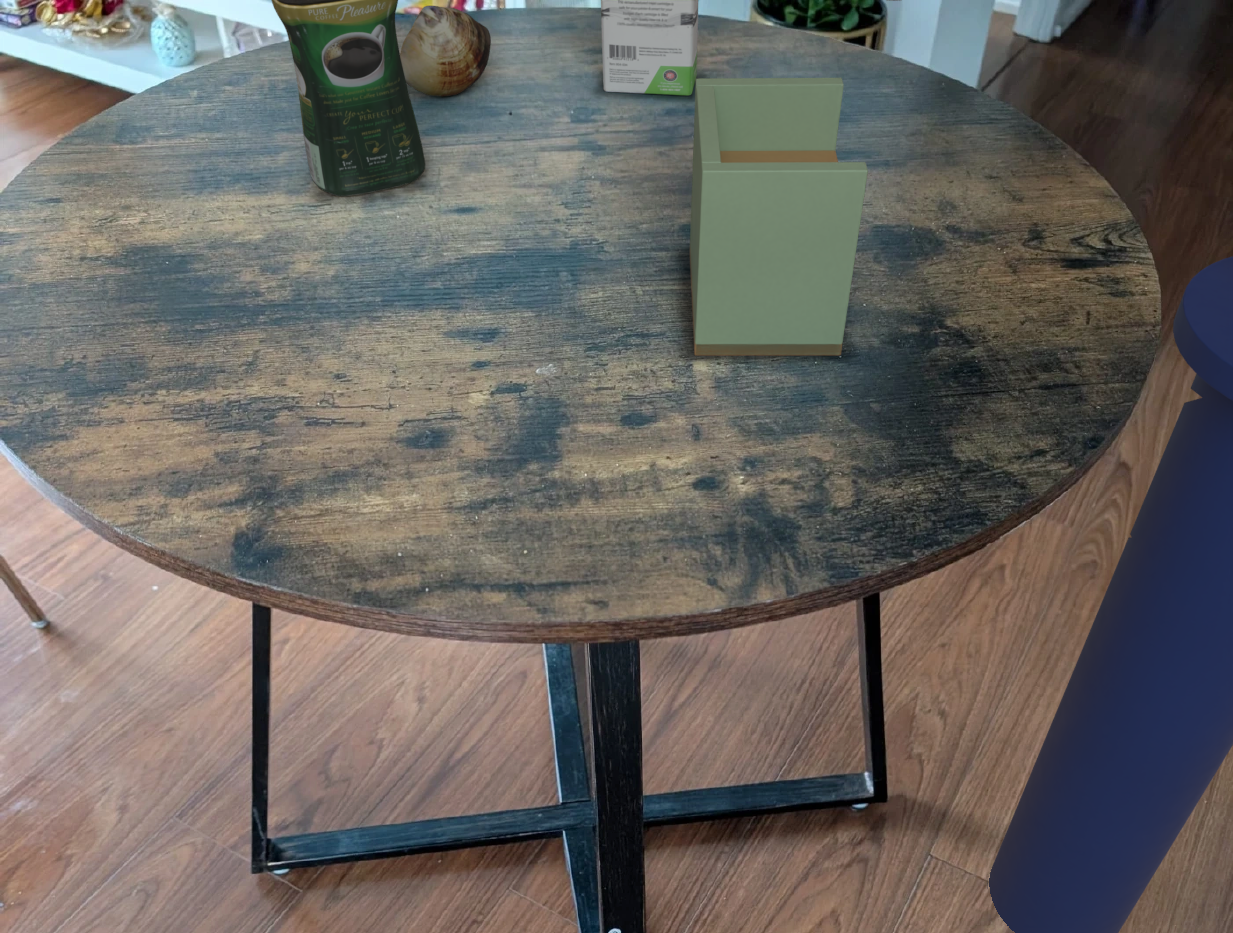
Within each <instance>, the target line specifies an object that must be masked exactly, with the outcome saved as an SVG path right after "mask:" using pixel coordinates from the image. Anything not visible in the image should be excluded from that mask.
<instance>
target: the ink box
mask: <svg viewBox="0 0 1233 933" xmlns="http://www.w3.org/2000/svg"><path fill="white" fill-rule="evenodd" d="M600 17H601V18H600V19H601V21H600V22H601V23H600V24H601V52H602V53H601V54H602V57H601V58H602V83H603V84H602V85H603V90H604V92H607V93H608V92H609V93H625V94H627V93H628V94H646V95H647V94H648V95H649V94H650V95H664V96H665V95H667V96H668V95H669V96H692V94H693V91H694V88H695V85H696V79H697V75H698V39H699V38H698V36H699V35H698V34H699V32H698V30H699V0H600Z"/></svg>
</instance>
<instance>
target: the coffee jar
mask: <svg viewBox="0 0 1233 933" xmlns="http://www.w3.org/2000/svg"><path fill="white" fill-rule="evenodd" d="M271 3H272V6H273V9H274V11H275V13H276V15H277V17H278V18H279V20H280V22H281V23H282V25H283V27H284V29H285V32H286V34H287V37H288V41H289V42H288V43H289V48H290V51H291V56H292V60H293V66H294V72H295V78H296V84H297V92H298V101H299V108H300V115H301V124H302V125H301V126H302V134H303V141H304V142H303V143H304V150H305V155H306V159H307V160H306V161H307V165H308V169H309V175H310V176H311V179H312V181H313V182H314V184H315V186H316V187H317V188H318V189H320V190H321V191H323V192H325V193H327V194H330V195H332V196H336V197H350V196H357V195H364V194H371V193H374V192H375V193H376V192H379V191H384V190H389V189H393V188H398V187H403V186H406V185H408V184H412V183H414V182H415V181H417V180H418V179H419V178H420V177H421V176H422V174H424V171H425V168H426V160H425V154H424V149H423V143H422V139H421V135H420V131H419V127H418V122H417V118H416V115H415V112H414V108H413V104H412V100H411V95H410V92H409V88H408V84H407V83H406V80H405V75H404V71H403V67H402V62H401V57H400V53H401V51H400V47H399V44H398V42H399V41H398V35H397V34H398V33H397V28H396V27H397V26H396V13H397V8H398V4H399V0H271Z"/></svg>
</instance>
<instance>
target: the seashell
mask: <svg viewBox="0 0 1233 933" xmlns="http://www.w3.org/2000/svg"><path fill="white" fill-rule="evenodd" d="M491 38H492V37H491V33H490V31H489V29H488V28H487V26H485V25H483V24H482V23H481V22H479V21H477V20H476V19H475V18H474V17H473V16H471V15H470V14H469V13H467V12H464V11H462V10H460V9H458V8H455V7H446V6H438V5H424V6H423V7H422V8H421V10H420V11H419V12H418V14H417V17H416V18H415V20H414V22H413V24H412V26H411V28H410V29H409V32H408V34H407V35H406V36H405V38H404V40H403V42H402V45H401V47H400V57H401V62H402V67H403V71H404V75H405V80H406V84H407V86H409V87H411V88H413V89H414V90H415V91H417V92H420V93H421V94H424V95H427V96H431V97H432V96H433V97H451V96H455V95H456V96H457V95H458V94H461V93H462V92H465V91H466V90H467V89H468V88H469V87H471V86H472V85H474V84H475V83H476V82H477V81H478V80H479V79H480V78H481V76H482V75H483V73H484V71H485V69H486V67H487V66H488V61H489V60H490V59H489V58H490V53H491V44H492V40H491Z"/></svg>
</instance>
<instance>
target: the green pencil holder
mask: <svg viewBox="0 0 1233 933" xmlns="http://www.w3.org/2000/svg"><path fill="white" fill-rule="evenodd" d="M844 87H845V84H844V81H843V77H734V78H733V77H730V78H728V77H727V78H726V77H723V78H722V77H721V78H717V77H716V78H715V77H713V78H710V77H709V78H708V77H707V78H705V77H704V78H696V80H695V85H694V88H695V90H694V117H693V120H694V121H693V146H692V172H691V173H692V174H691V175H692V176H691V199H690V200H691V202H690V228H689V270H690V290H691V309H692V310H691V311H692V312H691V314H692V330H693V333H692V334H693V353H694V356H841V355H842V351H843V350H842V349H843V344H844V342H843V341H844V336H845V335H844V334H845V328H846V322H847V315H848V308H849V302H850V296H851V288H852V283H853V276H854V275H853V274H854V269H855V261H856V255H857V247H858V241H859V234H860V228H861V221H862V215H863V208H864V200H865V195H866V194H865V193H866V188H867V180H868V174H869V168H868V166H867V163H866V162H865V161H839V159H838V154H837V152H836V150H837V143H838V142H837V141H838V133H839V127H840V126H839V125H840V119H841V110H842V102H843V96H844V95H843V94H844Z"/></svg>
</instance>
